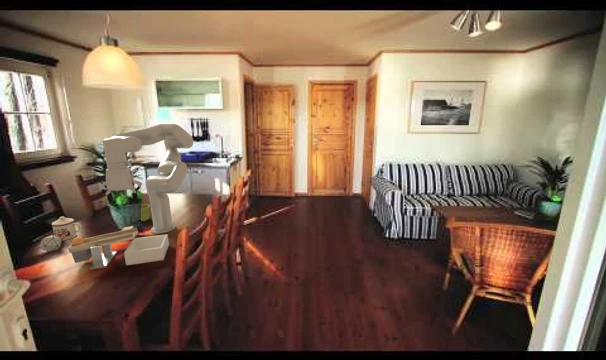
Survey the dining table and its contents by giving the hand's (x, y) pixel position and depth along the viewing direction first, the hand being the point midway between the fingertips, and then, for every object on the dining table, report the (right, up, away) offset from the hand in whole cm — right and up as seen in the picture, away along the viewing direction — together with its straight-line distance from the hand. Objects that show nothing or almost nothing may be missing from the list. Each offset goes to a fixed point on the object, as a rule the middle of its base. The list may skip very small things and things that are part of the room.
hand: (123, 201), depth 123 cm
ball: (-13, -16, -10) cm, 23 cm away
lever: (-4, -21, -2) cm, 22 cm away
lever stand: (-5, -26, -6) cm, 27 cm away
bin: (+12, -25, 0) cm, 28 cm away
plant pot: (-17, -15, +42) cm, 48 cm away
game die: (-36, -24, +3) cm, 44 cm away
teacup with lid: (-41, -21, +18) cm, 49 cm away
